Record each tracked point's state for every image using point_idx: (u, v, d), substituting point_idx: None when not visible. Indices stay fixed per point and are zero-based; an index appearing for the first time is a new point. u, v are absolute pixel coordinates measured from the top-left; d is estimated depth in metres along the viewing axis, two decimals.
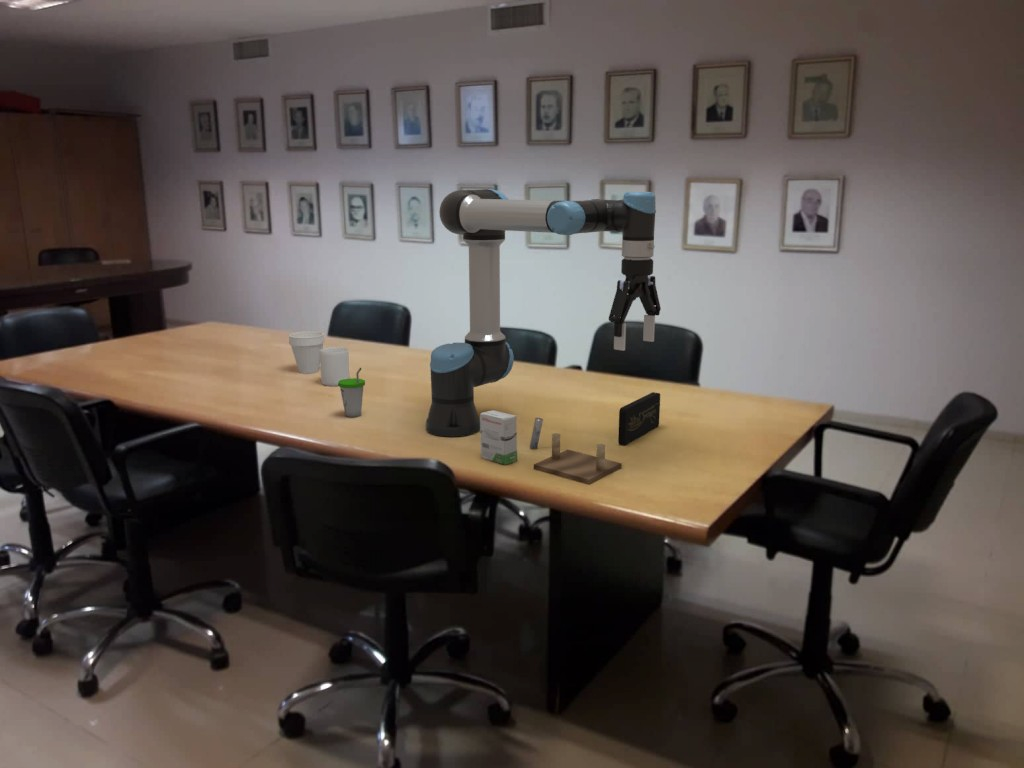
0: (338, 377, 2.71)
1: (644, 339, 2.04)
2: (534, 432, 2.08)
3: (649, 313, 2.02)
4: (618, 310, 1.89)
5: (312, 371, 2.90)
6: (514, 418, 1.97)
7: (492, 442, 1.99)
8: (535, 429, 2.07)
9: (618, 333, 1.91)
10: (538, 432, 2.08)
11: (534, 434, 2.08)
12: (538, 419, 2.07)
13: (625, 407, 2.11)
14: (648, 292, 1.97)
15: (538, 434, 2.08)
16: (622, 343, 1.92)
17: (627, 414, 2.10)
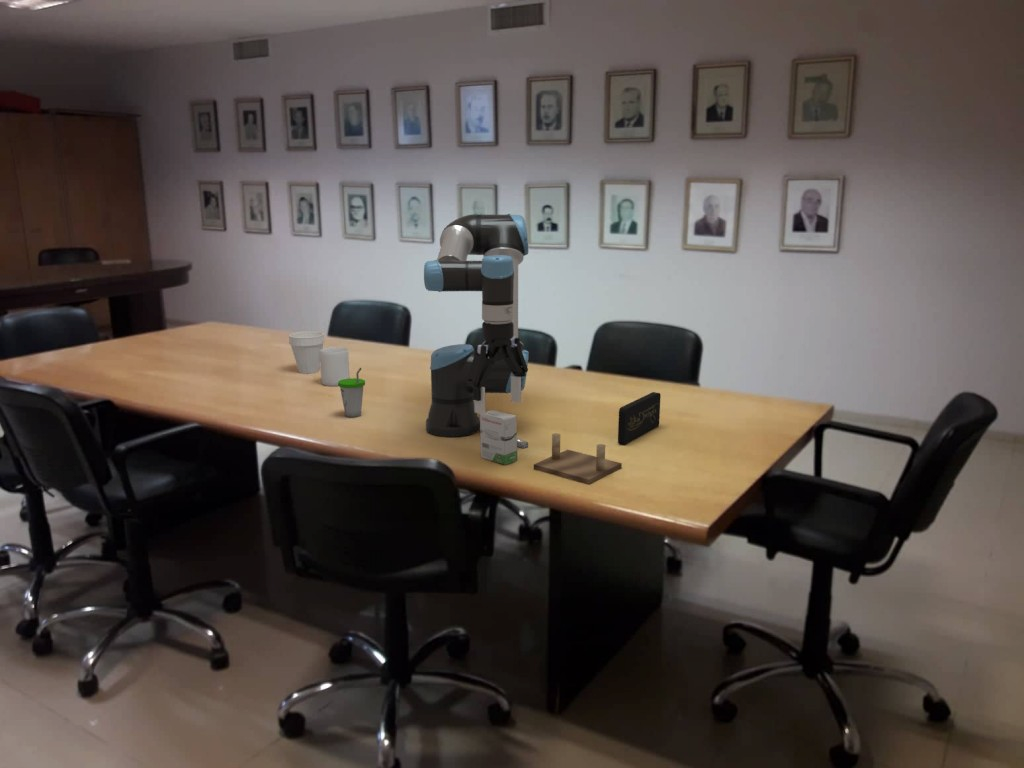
0: (338, 377, 2.71)
1: (512, 400, 2.03)
2: None
3: (516, 374, 2.02)
4: (475, 375, 1.88)
5: (312, 371, 2.90)
6: (514, 418, 1.97)
7: (492, 442, 1.99)
8: None
9: (477, 397, 1.91)
10: None
11: None
12: None
13: (625, 407, 2.11)
14: (511, 354, 1.96)
15: None
16: (481, 407, 1.92)
17: (627, 413, 2.11)
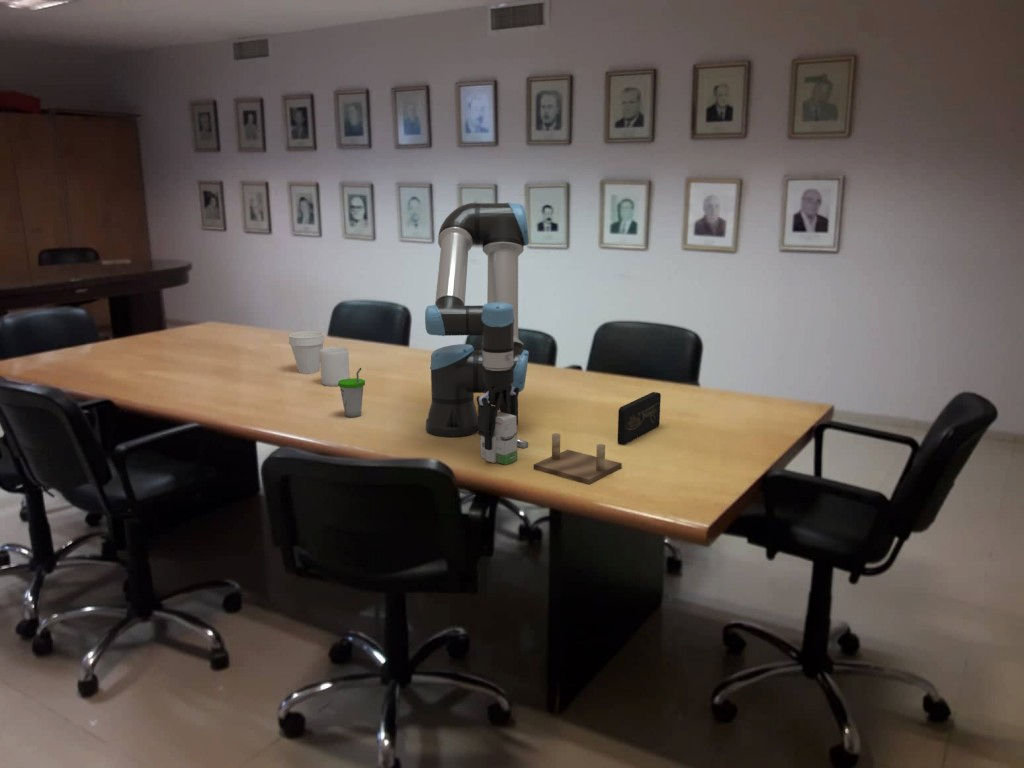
0: (338, 377, 2.71)
1: None
2: None
3: None
4: (484, 427, 1.94)
5: (312, 371, 2.90)
6: (514, 418, 1.97)
7: None
8: None
9: (488, 446, 1.97)
10: None
11: None
12: None
13: (624, 407, 2.12)
14: (508, 401, 1.98)
15: None
16: (493, 456, 1.98)
17: (626, 413, 2.11)
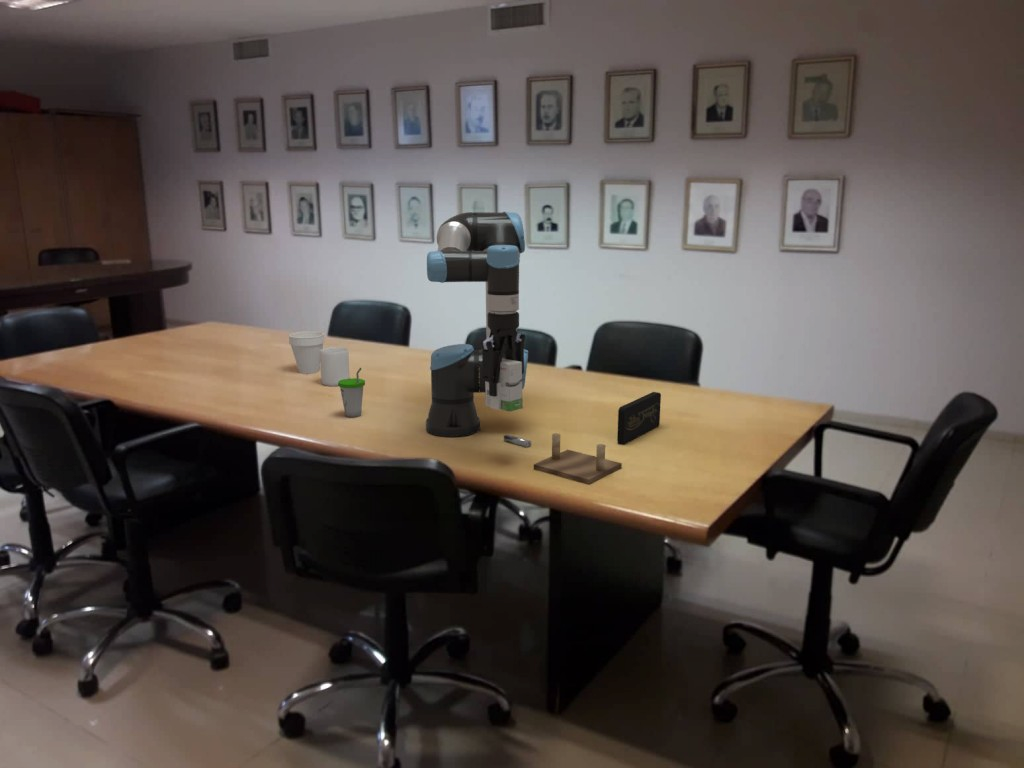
0: (338, 377, 2.71)
1: None
2: (513, 443, 2.13)
3: None
4: (488, 371, 1.90)
5: (312, 371, 2.90)
6: (519, 364, 1.93)
7: None
8: (511, 442, 2.14)
9: (492, 393, 1.93)
10: (513, 439, 2.13)
11: (515, 443, 2.13)
12: None
13: (624, 406, 2.12)
14: (514, 347, 1.94)
15: (515, 439, 2.13)
16: (497, 402, 1.94)
17: (626, 413, 2.11)
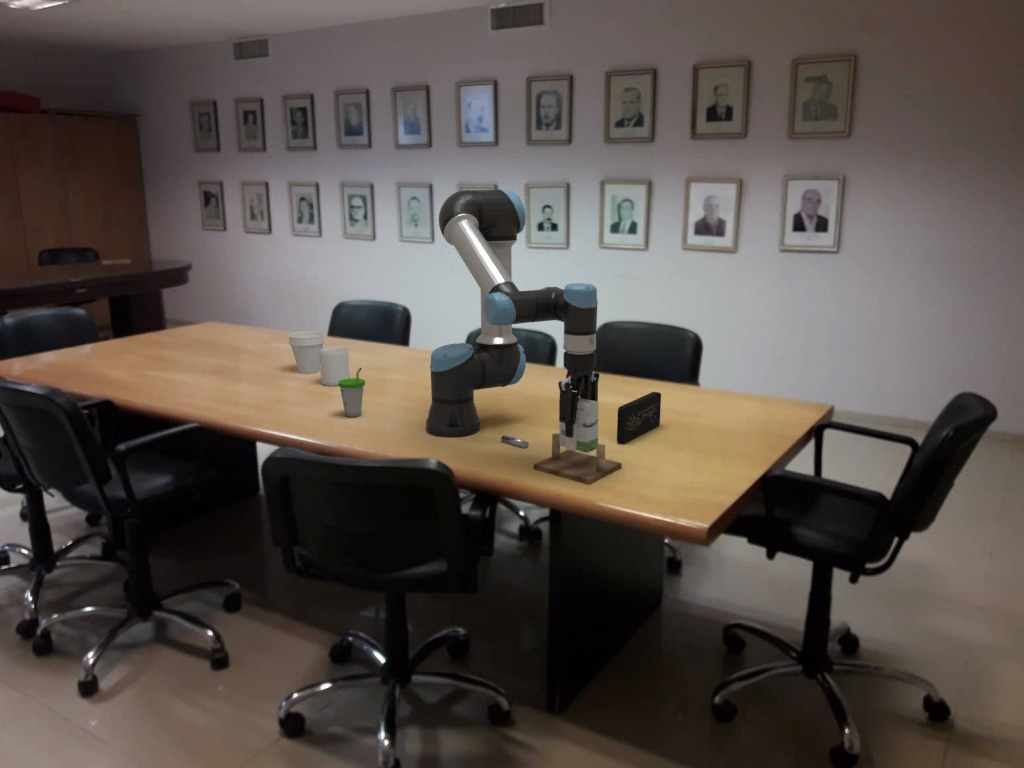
0: (338, 377, 2.71)
1: None
2: None
3: None
4: (566, 413, 1.86)
5: (312, 371, 2.90)
6: (596, 404, 1.89)
7: None
8: None
9: (569, 434, 1.89)
10: (510, 443, 2.13)
11: None
12: None
13: (624, 406, 2.12)
14: (589, 387, 1.91)
15: (512, 443, 2.12)
16: (573, 443, 1.90)
17: (626, 413, 2.11)
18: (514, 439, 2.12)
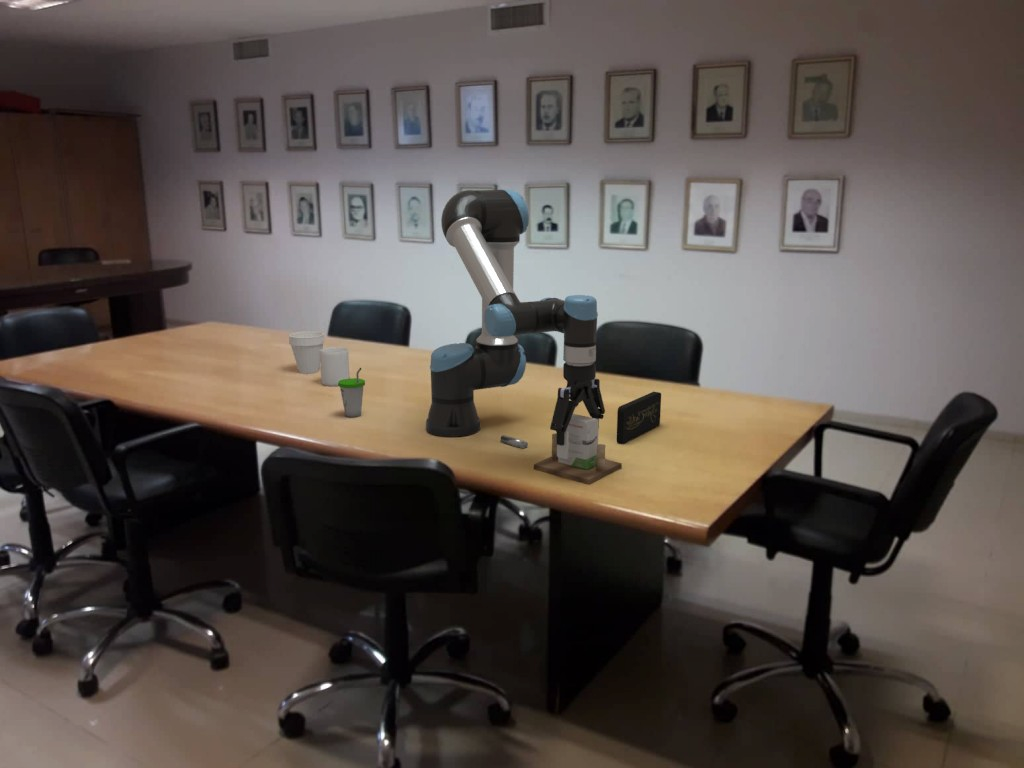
0: (338, 377, 2.71)
1: None
2: None
3: (593, 416, 1.97)
4: (559, 420, 1.85)
5: (312, 371, 2.90)
6: (595, 421, 1.91)
7: (572, 447, 1.92)
8: None
9: (560, 442, 1.87)
10: (510, 444, 2.13)
11: None
12: None
13: (623, 406, 2.12)
14: (591, 396, 1.92)
15: None
16: (565, 451, 1.88)
17: (625, 412, 2.11)
18: (512, 440, 2.11)
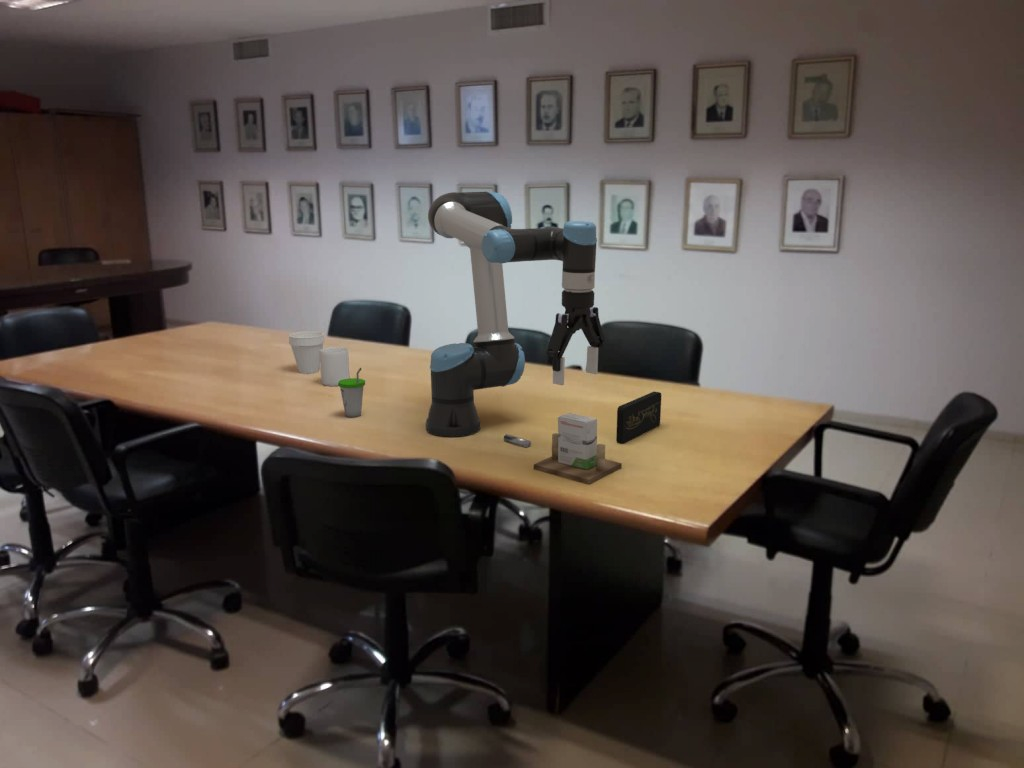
0: (338, 377, 2.71)
1: (587, 371, 1.98)
2: (513, 443, 2.13)
3: (592, 345, 1.96)
4: (556, 344, 1.83)
5: (312, 371, 2.90)
6: (595, 421, 1.91)
7: (572, 447, 1.92)
8: (511, 442, 2.14)
9: (556, 368, 1.85)
10: (512, 439, 2.13)
11: (515, 443, 2.13)
12: None
13: (623, 406, 2.12)
14: (590, 324, 1.90)
15: (514, 439, 2.13)
16: (561, 378, 1.86)
17: (625, 412, 2.12)
18: None
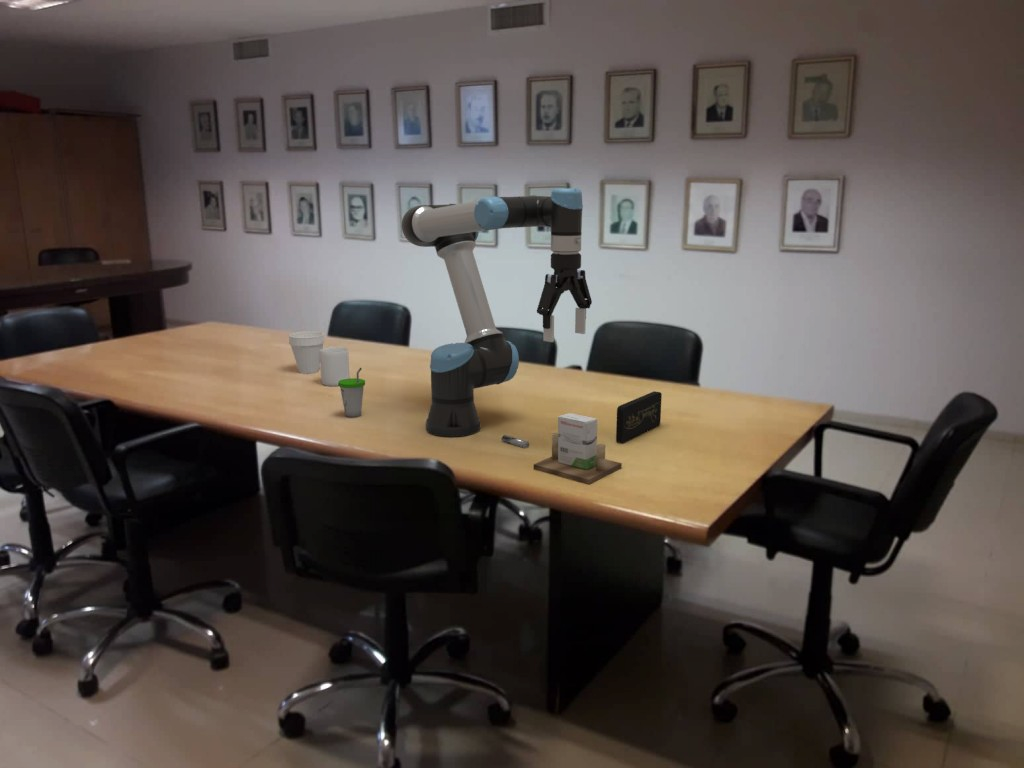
0: (338, 377, 2.71)
1: (576, 331, 2.10)
2: None
3: (580, 306, 2.09)
4: (545, 303, 1.95)
5: (312, 371, 2.90)
6: (595, 421, 1.91)
7: (572, 447, 1.92)
8: None
9: (546, 325, 1.98)
10: (511, 442, 2.13)
11: None
12: None
13: (623, 405, 2.13)
14: (577, 285, 2.03)
15: (512, 442, 2.12)
16: (551, 335, 1.99)
17: (625, 412, 2.12)
18: (515, 438, 2.12)
